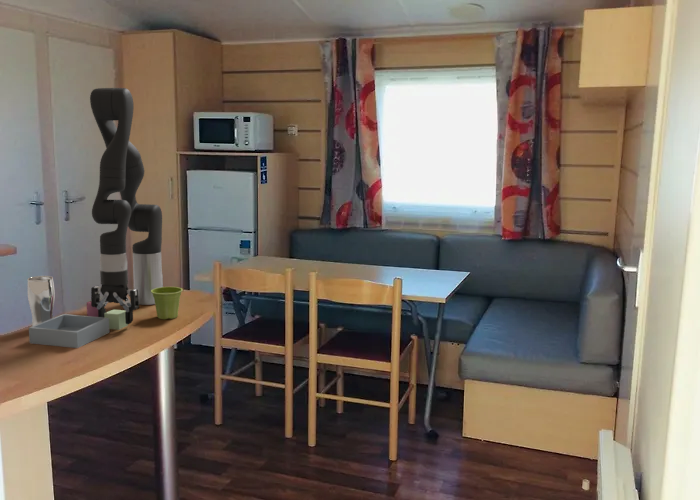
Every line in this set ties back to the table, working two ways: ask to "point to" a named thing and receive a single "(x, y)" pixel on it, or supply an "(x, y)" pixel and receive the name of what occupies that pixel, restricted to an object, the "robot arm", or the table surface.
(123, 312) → the sage block
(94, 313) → the plum cylinder
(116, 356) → the table surface
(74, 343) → the tub
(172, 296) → the plant pot
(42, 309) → the beer glass
